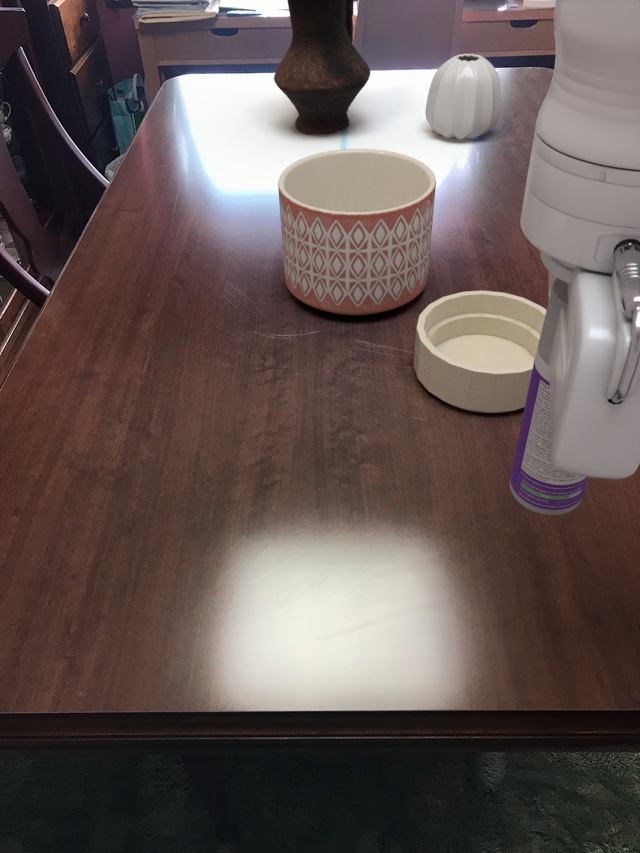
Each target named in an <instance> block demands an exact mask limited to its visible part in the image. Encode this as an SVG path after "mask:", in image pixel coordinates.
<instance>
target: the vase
mask: <svg viewBox="0 0 640 853" xmlns="http://www.w3.org/2000/svg"><path fill="white" fill-rule="evenodd" d="M501 109H502V86H501V79H500V75H499V73H498V71H497V69H496V68H495V66H494V65H493V64H492V63H491V62H490V61H489V60H488V59H487V58H486V57H484V56H482V55H480V54H475V53H462V54H456V55H454V56H452V57H451V58H449V59H447V60H446V61H445V62H443V63H442V64H441V65H440V66H439V67H438V68H437V70H436V71H435V73H434V76H433V78H432V80H431V83H430V86H429V90H428V93H427V98H426V104H425V120H426V122H427V123H428V124H429V126H430V128H431V129H432V130H433V131H434V133H435V134H437V135H441V136H443V137H444V138H446V139H457V140H459V141H461V140H465V139H469V140H475V139H477V138H478V137H480V136H485V135H487V133H489V131H490V130H491V129H492V128H493V127H494V126H495V125H496V124H497V123H498V121H499V118H500V115H501Z"/></svg>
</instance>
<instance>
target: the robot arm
mask: <svg viewBox="0 0 640 853" xmlns="http://www.w3.org/2000/svg"><path fill="white" fill-rule="evenodd" d="M552 21H553V34H554V41H555V42H554V43H555V44H554V45H555V59H554V68H553V74H552V78H551V81H550V84H549V87H548V90H547V92H546V95H545V97H544V99H543V101H542V103H541V105H540V108H539V110H538V113H537V117H536V120H535V127H534V133H533V140H532V145H531V152H530V156H529V157H530V158H529V165H528V170H527V176H526V182H525V188H524V193H523V194H524V195H523V200H522V206H521V213H520V218H519V221H520V223H519V224H520V229H521V232H522V234H523V236H524V237H525V238H526V240H527V241H528V242H529V243H531V245H532V246H533V247H535V248H536V249H537V250H538V251H540V254H539V255H540V260H541V262H542V265H543V266H544V267H545V269H546V270H547V272H548V273H547V274H548V277H547V278H548V299H549V298H550V294H551V290H552V286H553V283H554V281H555V280H556V278H559V279H560V280H562V281H564V282H566V283H567V295H568V307H567V309H565V308H563V307H561V311H560V315H559V320H558V324H557V328H556V332H555V336H554V340H553V344H552V348H551V352H550V356H549V371H550V459H551V464H552V466H553V467H554V468H555V469H556V470H558V471H560V472H564V473H569V474H575V475H580V476H586V477H589V478H596V479H607V480H623V479H626V478H628V477H631V476H632V475H633V474H634V473H636V471H637V470H638V468H639V466H640V0H555V4H554V9H553V20H552Z"/></svg>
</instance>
